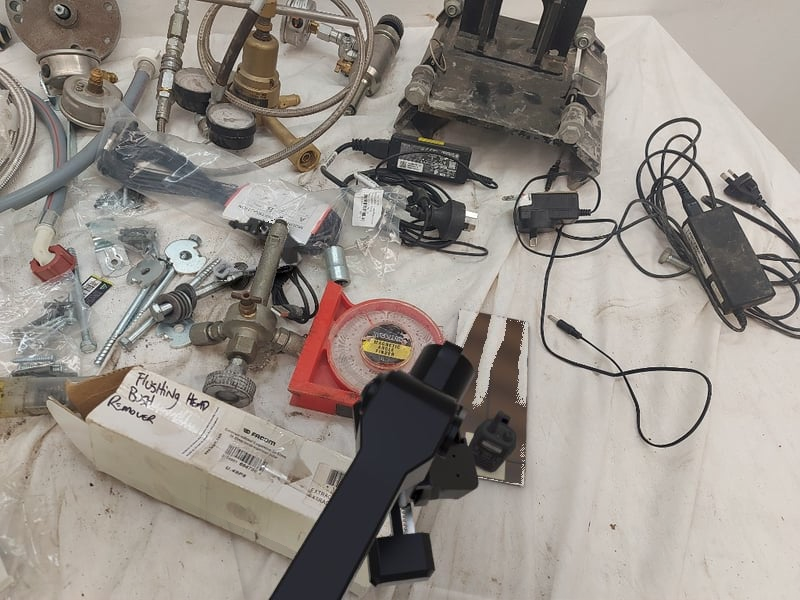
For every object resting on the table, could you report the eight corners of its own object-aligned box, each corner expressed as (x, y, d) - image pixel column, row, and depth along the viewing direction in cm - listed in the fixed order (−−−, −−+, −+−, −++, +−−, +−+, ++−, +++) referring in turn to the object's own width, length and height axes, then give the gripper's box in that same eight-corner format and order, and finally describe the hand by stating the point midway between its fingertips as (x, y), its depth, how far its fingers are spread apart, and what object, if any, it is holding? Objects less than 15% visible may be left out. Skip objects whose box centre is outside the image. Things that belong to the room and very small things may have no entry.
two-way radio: (460, 459, 82) (484, 415, 70) (472, 433, 84) (498, 386, 72) (495, 478, 81) (527, 436, 69) (506, 451, 83) (539, 407, 71)
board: (522, 487, 82) (525, 483, 81) (439, 470, 82) (441, 467, 81) (527, 325, 98) (529, 321, 97) (458, 312, 98) (459, 307, 97)
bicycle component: (214, 287, 93) (306, 273, 97) (208, 247, 89) (303, 235, 94) (209, 253, 102) (293, 243, 107) (203, 216, 99) (290, 206, 103)
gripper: (504, 554, 50) (467, 586, 63) (461, 365, 60) (436, 425, 73) (377, 571, 48) (364, 600, 61) (355, 372, 58) (348, 432, 71)
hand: (382, 507), depth 66 cm, fingers open, 9 cm apart
